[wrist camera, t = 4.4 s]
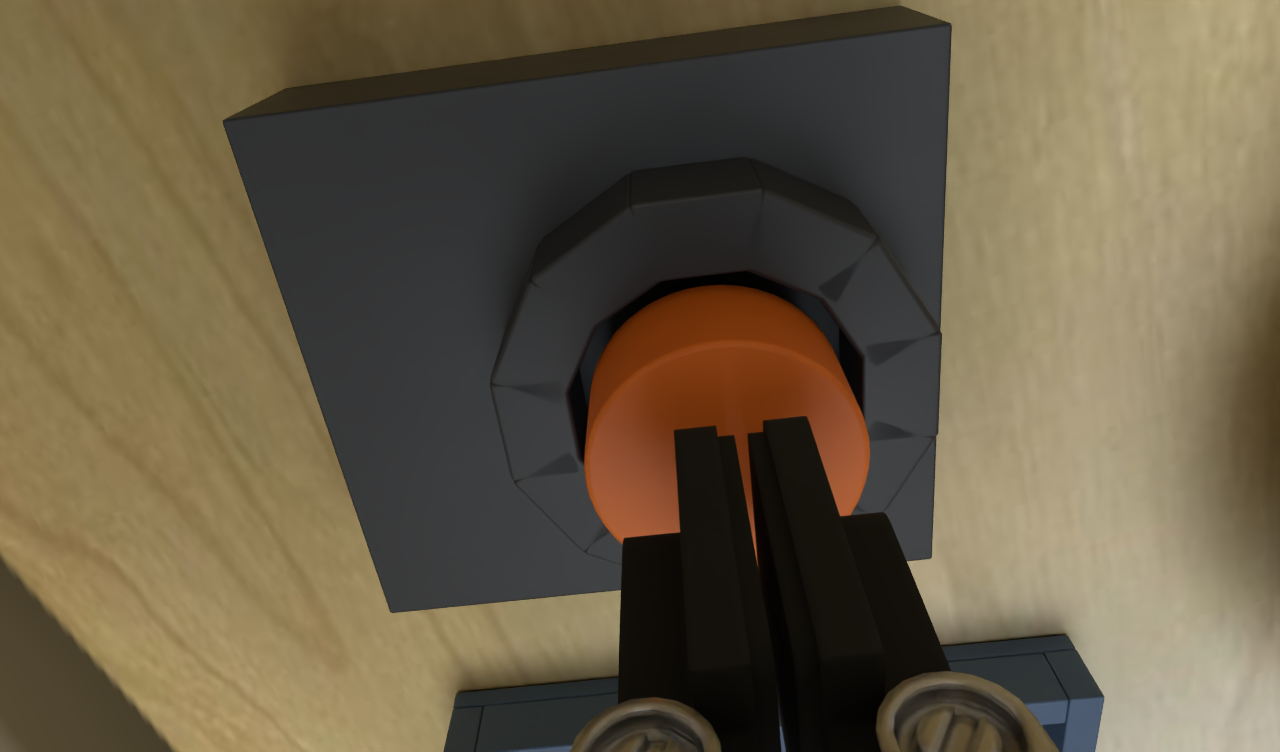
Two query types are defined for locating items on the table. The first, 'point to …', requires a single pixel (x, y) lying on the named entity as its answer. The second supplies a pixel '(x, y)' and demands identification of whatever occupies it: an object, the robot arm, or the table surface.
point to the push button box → (595, 267)
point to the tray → (556, 713)
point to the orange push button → (712, 400)
